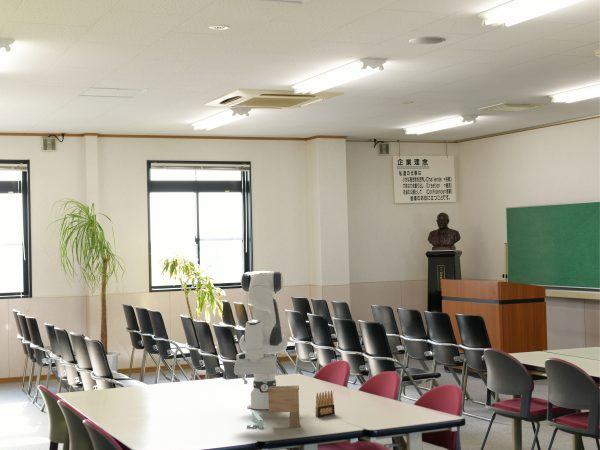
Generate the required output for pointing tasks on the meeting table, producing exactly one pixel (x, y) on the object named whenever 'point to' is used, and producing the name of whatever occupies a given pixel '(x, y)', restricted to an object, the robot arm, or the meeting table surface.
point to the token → (251, 426)
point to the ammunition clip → (324, 404)
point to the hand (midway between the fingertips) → (255, 383)
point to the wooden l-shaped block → (285, 402)
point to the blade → (257, 419)
